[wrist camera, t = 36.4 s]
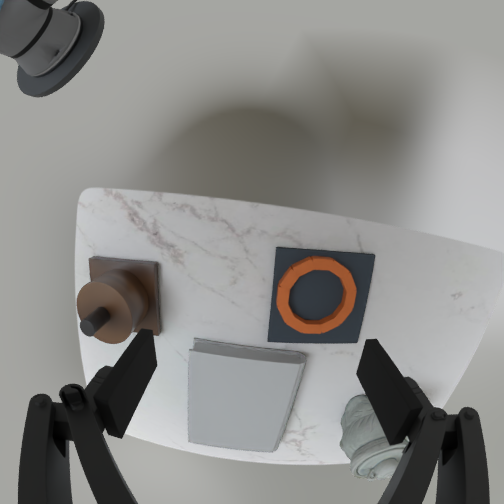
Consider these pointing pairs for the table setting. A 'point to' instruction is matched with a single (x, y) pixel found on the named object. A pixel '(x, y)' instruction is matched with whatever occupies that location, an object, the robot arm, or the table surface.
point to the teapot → (368, 442)
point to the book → (240, 394)
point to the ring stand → (119, 299)
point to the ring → (303, 268)
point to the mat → (320, 296)
